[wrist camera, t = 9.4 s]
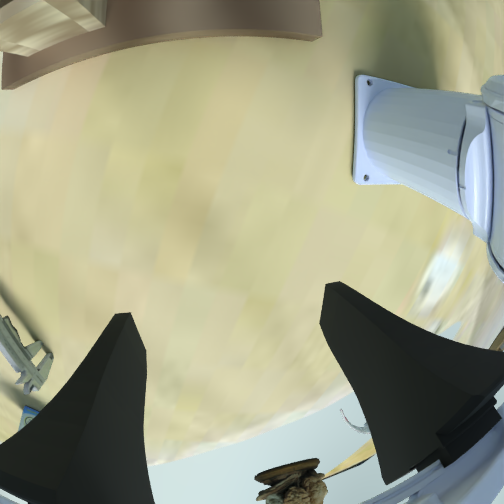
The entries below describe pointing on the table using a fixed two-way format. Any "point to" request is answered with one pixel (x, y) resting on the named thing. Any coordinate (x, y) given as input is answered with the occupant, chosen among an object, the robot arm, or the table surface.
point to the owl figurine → (293, 484)
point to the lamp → (498, 342)
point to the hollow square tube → (46, 22)
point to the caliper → (23, 357)
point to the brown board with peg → (168, 30)
